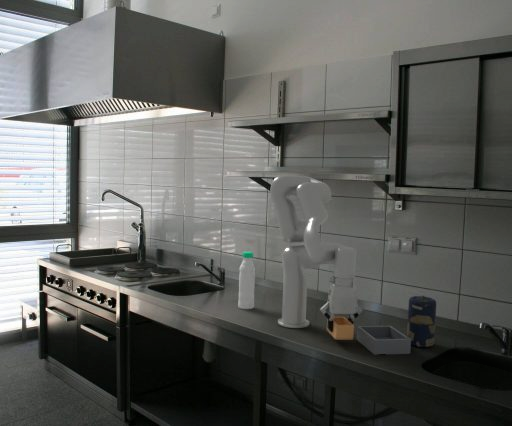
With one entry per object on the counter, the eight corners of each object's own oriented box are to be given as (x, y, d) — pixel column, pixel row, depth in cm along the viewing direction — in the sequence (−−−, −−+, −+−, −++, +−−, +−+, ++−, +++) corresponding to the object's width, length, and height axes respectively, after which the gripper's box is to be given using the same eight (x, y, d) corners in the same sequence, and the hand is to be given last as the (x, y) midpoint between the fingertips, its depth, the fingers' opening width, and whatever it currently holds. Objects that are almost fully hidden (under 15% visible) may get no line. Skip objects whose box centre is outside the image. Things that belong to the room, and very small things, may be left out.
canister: (438, 344, 187) (441, 296, 185) (427, 350, 180) (430, 300, 178) (413, 338, 193) (416, 291, 192) (401, 344, 186) (404, 295, 185)
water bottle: (236, 308, 227) (238, 252, 225) (240, 305, 233) (242, 250, 232) (251, 310, 225) (253, 253, 223) (255, 306, 232) (257, 251, 230)
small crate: (326, 329, 189) (327, 316, 188) (343, 329, 190) (344, 316, 190) (335, 339, 179) (336, 325, 179) (353, 339, 180) (354, 325, 180)
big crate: (356, 339, 189) (357, 326, 189) (389, 338, 192) (390, 325, 191) (374, 354, 174) (375, 340, 173) (410, 353, 176) (411, 339, 176)
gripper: (323, 283, 177) (319, 334, 179) (370, 284, 181) (366, 334, 182) (317, 278, 185) (313, 327, 186) (362, 279, 188) (358, 327, 190)
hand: (339, 330), depth 184 cm, fingers closed on small crate, 6 cm apart
